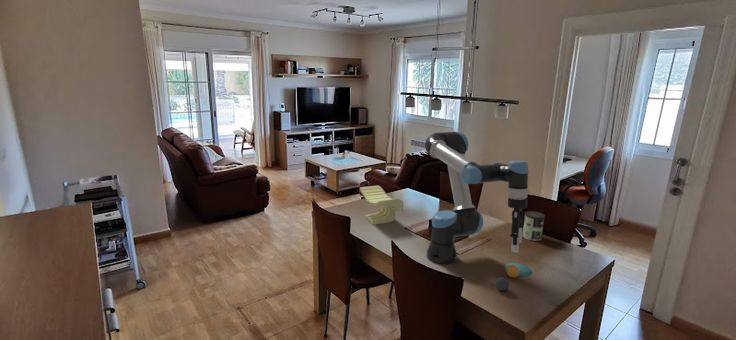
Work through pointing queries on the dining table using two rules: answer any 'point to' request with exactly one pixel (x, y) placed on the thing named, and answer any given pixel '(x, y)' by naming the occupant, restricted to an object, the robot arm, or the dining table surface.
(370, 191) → the slatted curved stool
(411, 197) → the dining table surface
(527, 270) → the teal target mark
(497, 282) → the charcoal ball
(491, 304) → the dining table surface
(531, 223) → the coffee can
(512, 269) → the orange ball
